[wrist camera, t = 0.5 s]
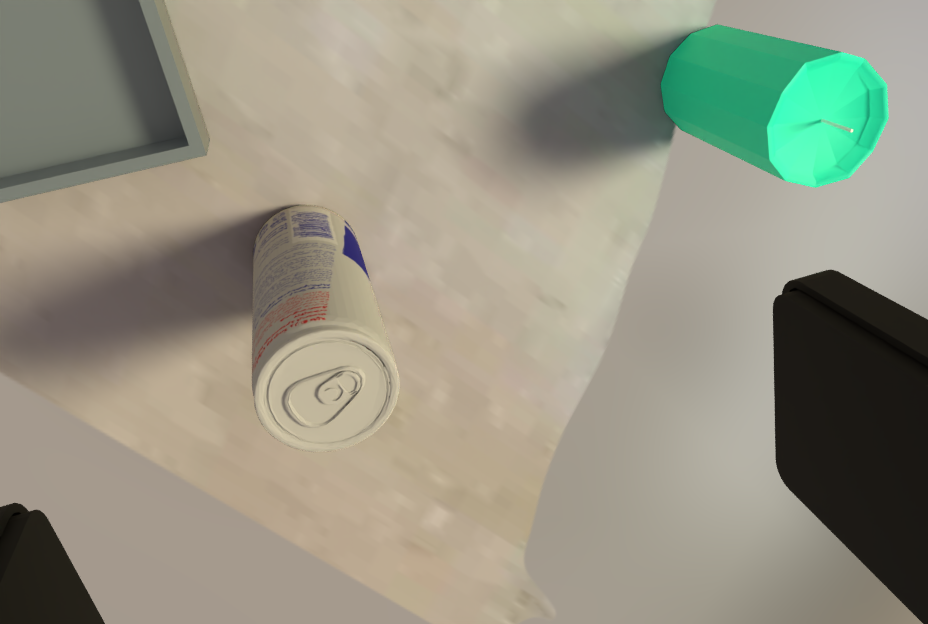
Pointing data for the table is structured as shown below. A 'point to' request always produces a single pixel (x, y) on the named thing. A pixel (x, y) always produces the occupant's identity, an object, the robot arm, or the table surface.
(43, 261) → the table surface
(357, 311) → the beverage can
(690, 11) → the table surface
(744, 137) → the candle
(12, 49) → the tray
